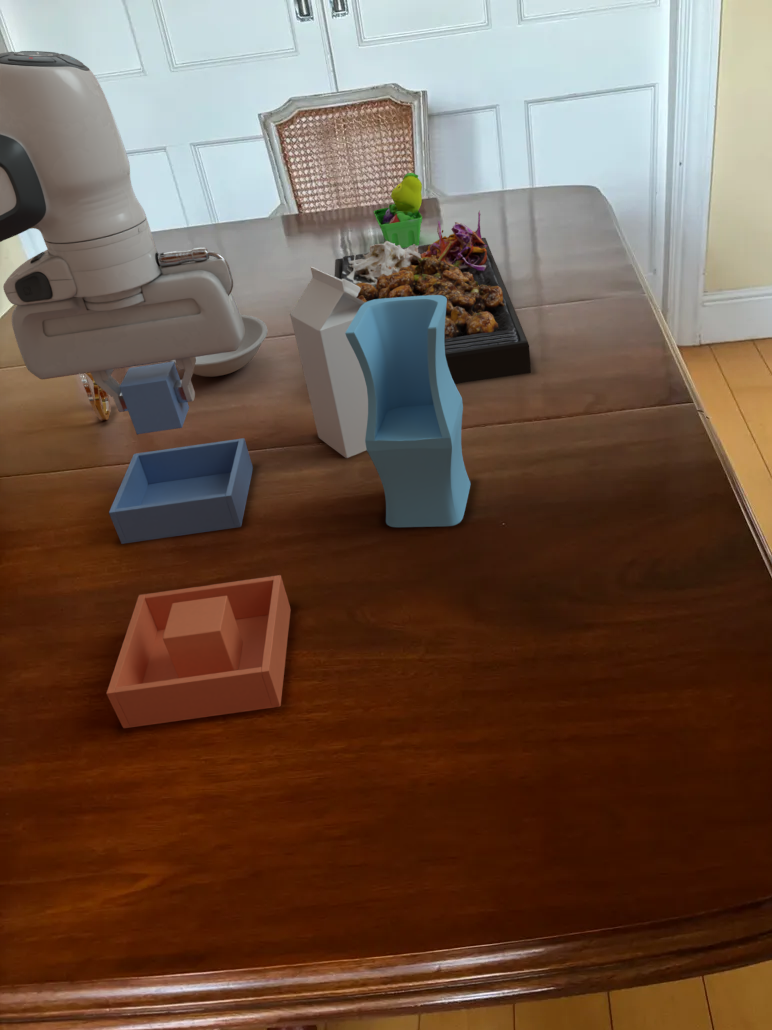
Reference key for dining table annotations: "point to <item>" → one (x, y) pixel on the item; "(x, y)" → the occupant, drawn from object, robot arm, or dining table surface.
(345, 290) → the milk carton
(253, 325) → the dish
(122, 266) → the robot arm
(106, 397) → the ring
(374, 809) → the dining table surface
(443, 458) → the blue wingback chair
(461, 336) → the food platter
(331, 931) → the dining table surface
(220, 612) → the terracotta block
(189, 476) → the blue-grey tray
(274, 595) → the terracotta tray
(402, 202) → the fruit basket
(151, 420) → the blue-grey block
